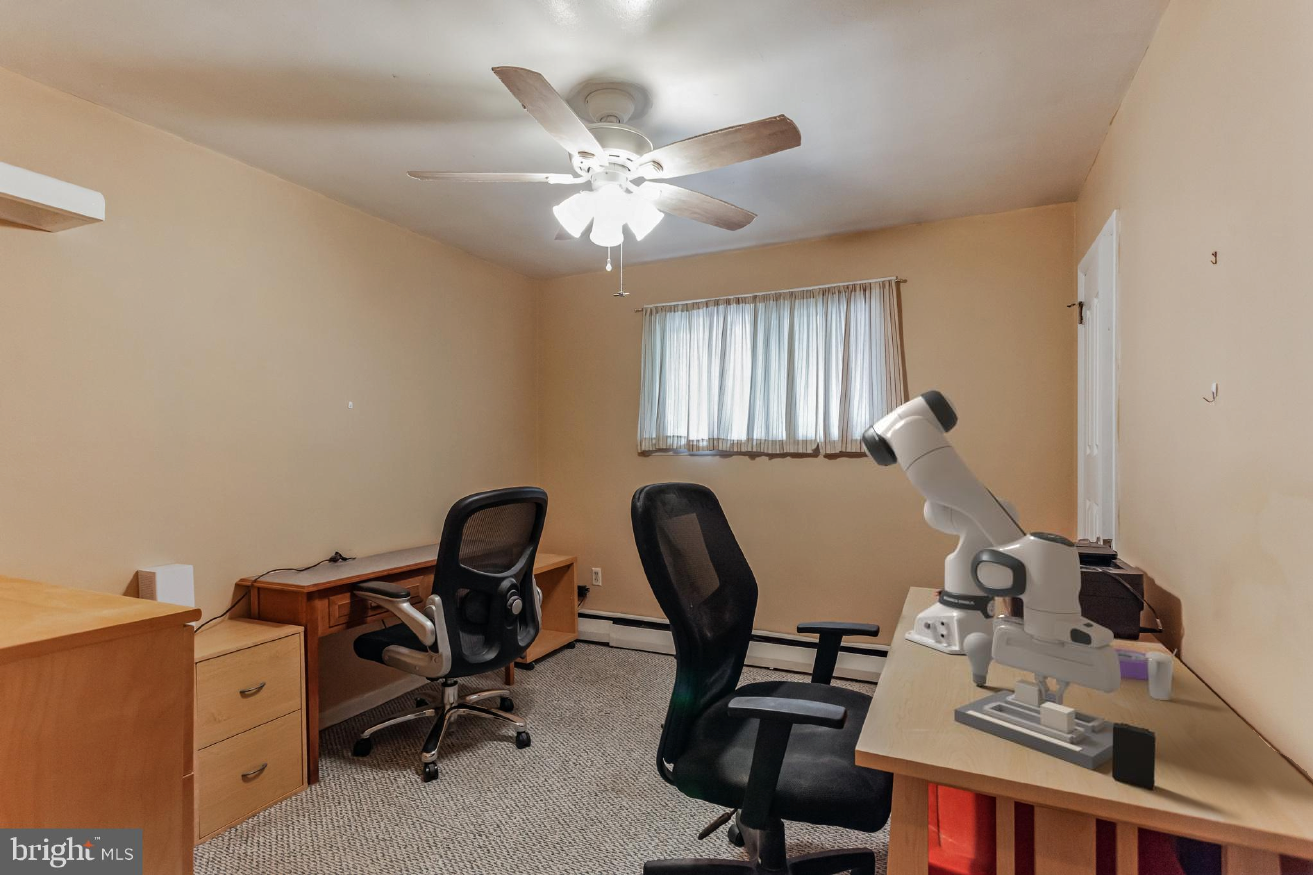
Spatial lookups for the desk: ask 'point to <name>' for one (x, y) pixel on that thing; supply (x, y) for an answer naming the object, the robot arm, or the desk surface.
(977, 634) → the lightbulb
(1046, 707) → the switch tab
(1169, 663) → the milkshake
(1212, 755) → the desk surface
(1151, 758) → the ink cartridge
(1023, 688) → the switch tab
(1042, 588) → the robot arm
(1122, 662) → the masking tape
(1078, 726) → the switch panel
